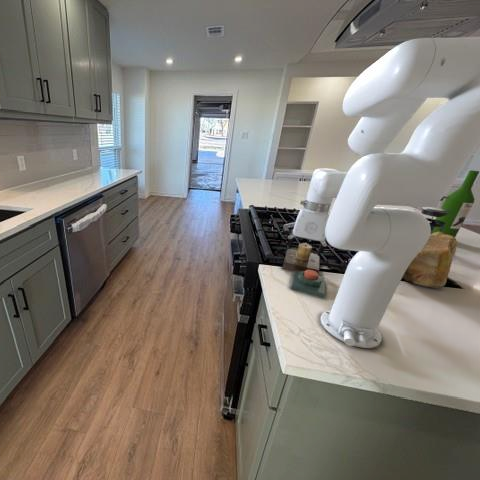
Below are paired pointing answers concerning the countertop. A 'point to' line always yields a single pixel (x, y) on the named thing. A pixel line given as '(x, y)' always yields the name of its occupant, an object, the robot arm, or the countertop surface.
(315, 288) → the button box
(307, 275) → the button
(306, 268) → the dial panel
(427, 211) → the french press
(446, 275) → the rough brown rock
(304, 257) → the dial
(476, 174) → the wine bottle
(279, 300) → the countertop surface
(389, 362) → the countertop surface
